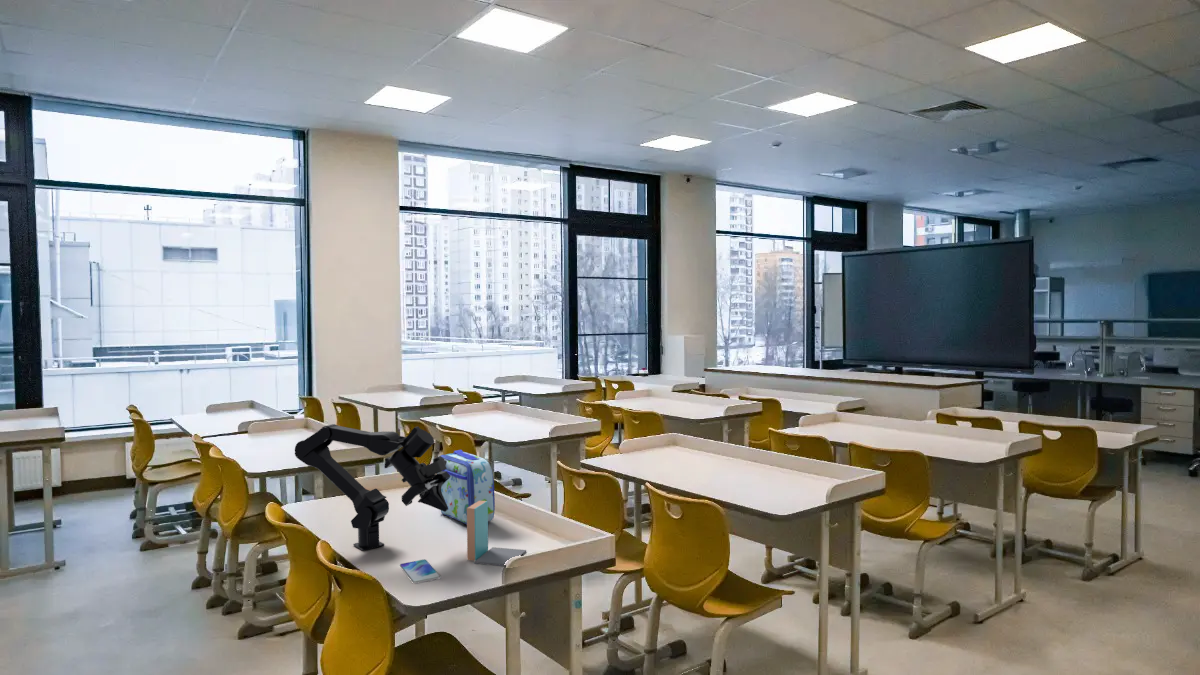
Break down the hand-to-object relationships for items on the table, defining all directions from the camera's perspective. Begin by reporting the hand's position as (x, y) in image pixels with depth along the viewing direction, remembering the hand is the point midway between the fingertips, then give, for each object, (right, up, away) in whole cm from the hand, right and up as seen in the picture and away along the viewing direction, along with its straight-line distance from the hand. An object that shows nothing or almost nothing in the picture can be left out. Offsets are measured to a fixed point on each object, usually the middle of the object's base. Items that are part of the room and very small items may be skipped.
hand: (446, 510), depth 203 cm
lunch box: (-1, -11, +34) cm, 36 cm away
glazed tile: (+9, -12, -2) cm, 15 cm away
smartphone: (-4, -13, -14) cm, 20 cm away
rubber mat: (+15, -12, -4) cm, 20 cm away
